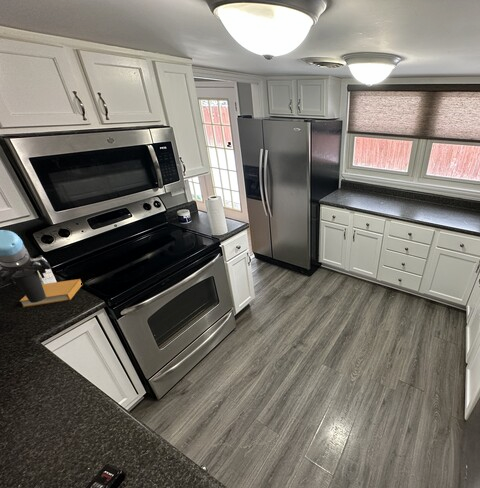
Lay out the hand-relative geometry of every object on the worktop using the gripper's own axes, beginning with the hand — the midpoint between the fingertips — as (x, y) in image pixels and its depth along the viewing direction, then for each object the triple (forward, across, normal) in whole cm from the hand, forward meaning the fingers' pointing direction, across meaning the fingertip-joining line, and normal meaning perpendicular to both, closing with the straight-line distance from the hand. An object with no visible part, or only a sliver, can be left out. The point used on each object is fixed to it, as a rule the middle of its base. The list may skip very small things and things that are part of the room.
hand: (28, 279), depth 110 cm
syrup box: (+39, +5, +9) cm, 41 cm away
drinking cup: (+4, 0, -9) cm, 9 cm away
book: (+29, +5, 0) cm, 30 cm away
